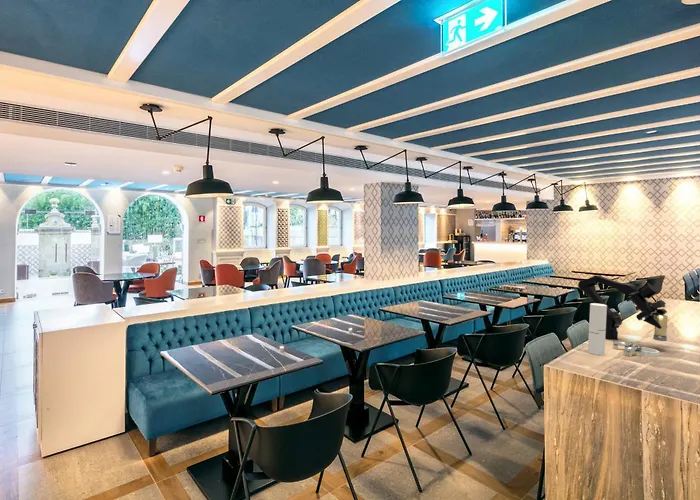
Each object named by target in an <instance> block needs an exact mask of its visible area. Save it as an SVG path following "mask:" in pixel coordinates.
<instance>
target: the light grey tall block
mask: <svg viewBox="0 0 700 500" xmlns="http://www.w3.org/2000/svg"><path fill="white" fill-rule="evenodd" d="M607 306H608V305H607V304H606V305H604V304H597V303H594V302H593V303H590V304H589V319H588V320H589V325H588V339H587V340H588V343H587V344H588V345H587V353H589V354H590V355H596V356H604V355H605V349H606V339H605V334H606V314H607Z"/></svg>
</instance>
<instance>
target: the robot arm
mask: <svg viewBox="0 0 700 500" xmlns="http://www.w3.org/2000/svg"><path fill="white" fill-rule="evenodd" d="M598 284H601V285H604V286H607V287H610V288H613V289H616V291H618V292H619V293H621V294H624V295H626V296H627V295H629V296H627V297H626V302H632V303H633V304H634V305H635V306H636V310H639V311H640V312H639V313H638V314H636V316H635V318H636V319H637V320H638V321H643V322H646V323H647V324H649V325H652V326H653V327H654V328H655V327H657V328H659V329H661V328H662V327H661V326H660V324H659V323H658V321H657V320H656V319H655V315H656V314H659V315H666V314H667V313H668V311H667V310H666V309H665V308H666V303H667V302H665V301H664V300H662V299H659V300H657V301H654V302H651V301H648V300H647V299H651V298H652V297H654V296H655V295H657V294H658V293H659V290H658V288H657V287H656V286H654V285H653V284H650V283H649V282H646V283H644V284H643V285H642V286H641V287H639V286H637V285H636V284H632V283H626V282H619V281H617V280H613V279H611V278H607V277H605V276H602V275H599V274H598V275H597V274H596V275H593V276H591V277H588V278H586V279H581V280H579V281H578V284H577V287H578V288H579V289H580V290H581V291H582V292H583V293H584V294H587V295H588V297H589V298H590V299H591V300H592V302H593V303H597V304H604V305H607V303H606V302H605V301H604V300H603V298H602V297H601V296H600V294H599V293H598V292H597V289H596V285H598ZM622 324H623V317H622V316H621V315H620V314H619V312H618V311H613V310H612V309H610V307H609V306H608V305H607V314H606V334H605V340H613V341H618V340H619V339H618V337H619V331H618V329H619V327H620V326H621V325H622Z"/></svg>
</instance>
